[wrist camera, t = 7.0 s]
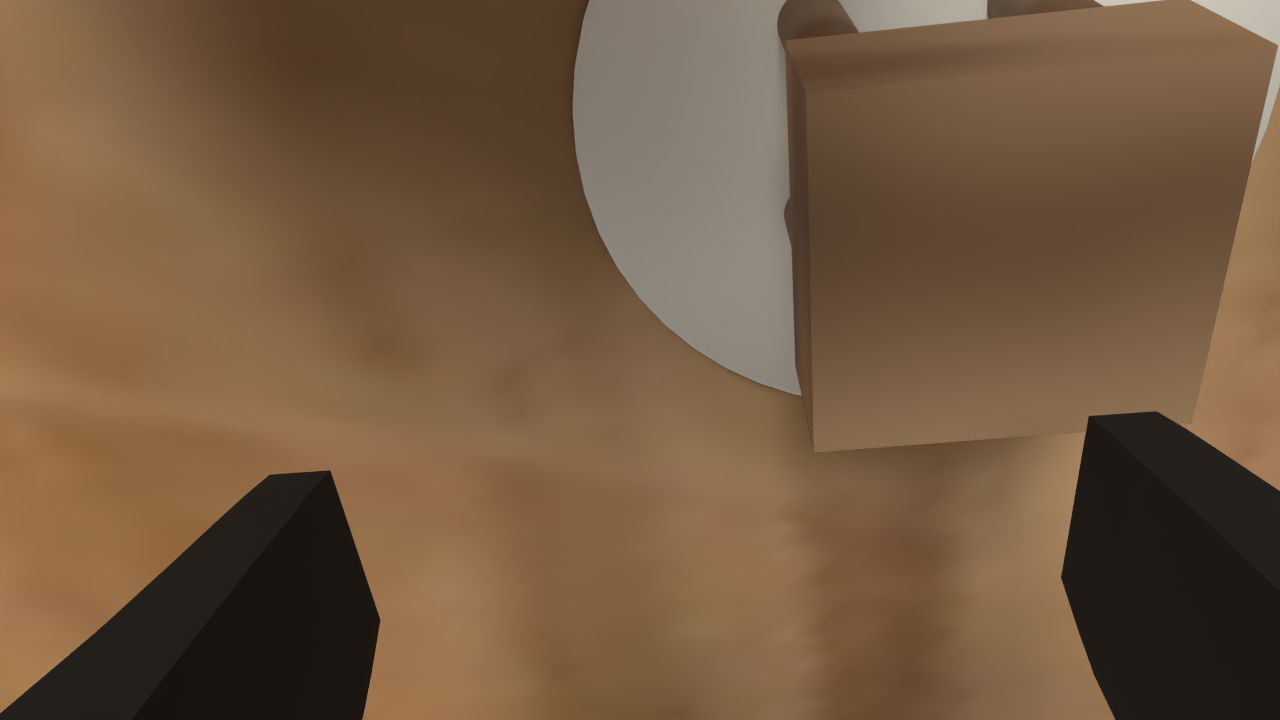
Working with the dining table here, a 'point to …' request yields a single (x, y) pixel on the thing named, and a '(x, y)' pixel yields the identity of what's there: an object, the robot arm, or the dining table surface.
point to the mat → (726, 157)
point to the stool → (1012, 214)
